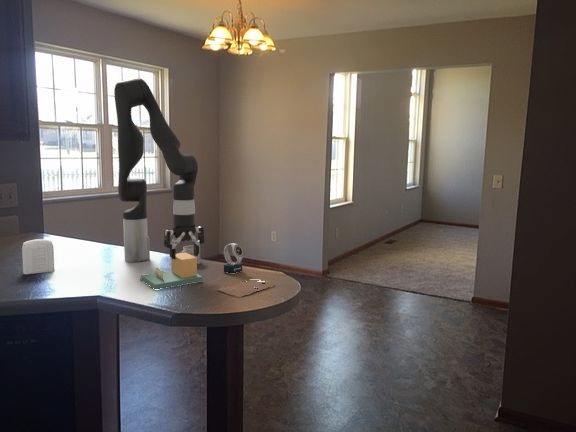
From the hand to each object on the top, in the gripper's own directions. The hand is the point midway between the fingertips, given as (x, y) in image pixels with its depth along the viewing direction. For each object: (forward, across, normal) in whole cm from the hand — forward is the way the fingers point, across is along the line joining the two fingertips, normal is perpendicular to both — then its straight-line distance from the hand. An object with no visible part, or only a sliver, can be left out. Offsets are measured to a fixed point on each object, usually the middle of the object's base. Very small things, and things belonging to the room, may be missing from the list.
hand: (184, 257), depth 169 cm
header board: (+8, +5, 0) cm, 9 cm away
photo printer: (+8, +41, -37) cm, 56 cm away
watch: (+8, -19, +2) cm, 21 cm away
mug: (+9, -10, -18) cm, 23 cm away
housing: (+6, 0, 0) cm, 6 cm away
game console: (+9, -13, +21) cm, 26 cm away
